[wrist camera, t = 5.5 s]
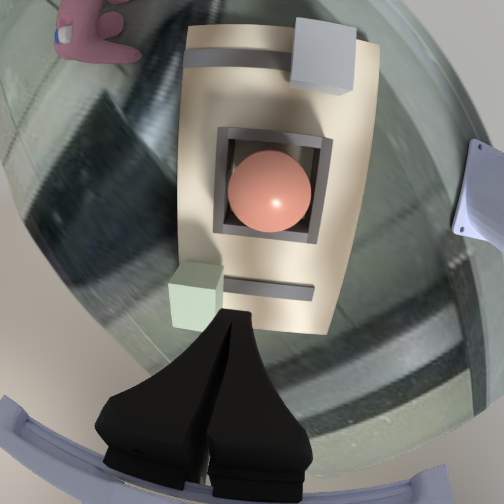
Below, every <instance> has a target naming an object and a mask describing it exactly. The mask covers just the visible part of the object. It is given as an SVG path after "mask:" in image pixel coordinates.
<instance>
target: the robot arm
mask: <svg viewBox="0 0 504 504" xmlns="http://www.w3.org/2000/svg"><path fill="white" fill-rule="evenodd" d="M478 145H479V146H480V148H479V149H478ZM461 227H462V229H461V230H460V228H461ZM452 231H453V232H454V233H455V234H458V235H463V236H467V237H472V238H476V239H481V240H485V241H489V242H490V243H492V244H493V245H494V246H495V247H497V248H498V249H499V250H500V251H501V252H503V253H504V153H503V152H501V151H499V150H497V149H495V148H493V147H491V146H489V145H487V144H485V143H483V142H481V141H479V140H477V139H471V140H470V144H469V151H468V157H467V163H466V169H465V174H464V179H463V184H462V189H461V193H460V197H459V201H458V205H457V209H456V213H455V217H454V220H453V224H452ZM95 429H96V431H97V433H98V434H99V435H100V436H101V438H102V439H103V440H104V441H105V443H106V444H107V445H108V446H109V447H108V449H107V452H106V454H105V456H104V455H102V454H99V453H97V452H95V451H92V450H90V449H88V448H86V447H83V446H82V445H79V444H77V443H75V442H73V441H71V440H69V439H67V438H66V437H63V436H62V435H59V434H58V433H56V432H54V431H53V430H51V429H49V428H47V427H46V426H44V425H42V424H41V423H39V422H37V421H36V420H34V419H33V418H31V417H29V416H28V414H27V412H26V411H25V410H24V409H23V408H22V407H21V406H20V405H18V404H17V403H16V402H14V401H13V400H11V399H10V398H8V397H7V396H6V395H4V396H3V397H2V399H1V400H0V447H1V448H2V449H4V450H5V451H6V452H7V453H8V454H10V455H11V456H12V457H13V458H15V459H16V460H17V461H19V462H20V463H21V464H22V465H24V466H25V467H27V468H28V469H29V470H31V471H32V472H34V473H35V474H37V475H38V476H39V477H41V478H43V479H44V480H46V481H47V482H49V483H50V484H52V485H53V486H55V487H57V488H58V489H60V490H62V491H64V492H65V493H67V494H69V495H71V496H72V497H74V498H76V499H78V500H80V501H82V504H192V503H187V502H183V501H178V500H174V499H170V498H167V497H163V496H159V495H156V494H152V493H149V492H146V491H143V490H140V489H137V488H134V487H131V486H128V485H125V484H124V482H123V481H126V482H128V483H131V484H134V485H137V486H140V487H143V488H146V489H149V490H152V491H156V492H159V493H163V494H167V495H170V496H174V497H179V498H182V499H187V500H192V501H197V502H202V503H207V504H455V503H454V498H453V493H452V488H451V483H450V479H449V475H448V470H447V466H446V465H445V464H444V465H440V466H437V467H434V468H431V469H427V470H425V471H422V472H420V473H418V474H416V475H414V476H413V477H412V478H411V479H408V480H403V481H399V482H395V483H390V484H385V485H379V486H374V487H368V488H361V489H353V490H345V491H334V492H319V493H303V482H304V480H305V470H306V469H307V468H308V467H309V466H310V464H311V463H312V460H313V454H312V449H311V445H310V441H309V438H308V436H307V433H306V431H305V429H304V428H303V427H302V426H301V425H300V424H299V422H298V421H297V420H296V419H295V417H294V416H293V415H292V414H291V412H290V411H289V409H288V408H287V407H286V405H285V404H284V402H283V401H282V399H281V397H280V396H279V394H278V393H277V391H276V389H275V388H274V386H273V384H272V382H271V380H270V378H269V376H268V374H267V372H266V370H265V367H264V365H263V362H262V360H261V357H260V354H259V351H258V348H257V345H256V341H255V337H254V333H253V327H252V313H251V312H250V311H242V310H234V309H226V308H221V309H220V310H219V311H218V312H217V314H216V315H215V317H214V318H213V320H212V321H211V322H210V324H209V325H208V326H207V327H206V329H205V330H204V331H203V332H202V333H201V334H200V336H199V337H198V338H197V339H196V340H195V341H194V342H193V343H192V344H191V345H190V346H189V347H188V348H187V349H186V350H185V351H184V352H183V353H182V354H181V355H180V356H179V357H177V358H176V359H175V360H174V361H173V362H171V363H170V364H169V365H167V366H166V367H165V368H163V369H162V370H161V371H159V372H158V373H156V374H155V375H153V376H152V377H150V378H148V379H147V380H145V381H143V382H141V383H140V384H138V385H136V386H134V387H132V388H130V389H128V390H126V391H124V392H121V393H119V394H117V395H115V396H112V397H110V398H109V400H108V401H107V403H106V404H105V406H104V407H103V409H102V411H101V413H100V415H99V417H98V419H97V421H96V423H95ZM209 455H210V461H209ZM208 461H209V466H208ZM207 468H208V471H207ZM207 474H208V475H209V478H210V481H211V486H206V485H205V482H206V475H207ZM114 477H115V478H114ZM116 478H118V479H116ZM119 479H120V480H123V481H120V480H119Z"/></svg>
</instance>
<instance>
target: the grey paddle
mask: <svg viewBox="0 0 504 504" xmlns="http://www.w3.org/2000/svg"><path fill="white" fill-rule="evenodd" d="M356 30H357V28H353V27H349V26H345V25H340V24H335V23H330V22H325V21H319V20H313V19H306V18H299V17H296V22H295V27H294V33H293V43H292V56H291V67H290V79H289V88H293V89H301V90H308V91H314V92H321V93H326V94H332V95H337V96H341V95H343V94H345V93H348V92H350V91H353V84H354V71H355V55H356Z"/></svg>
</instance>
